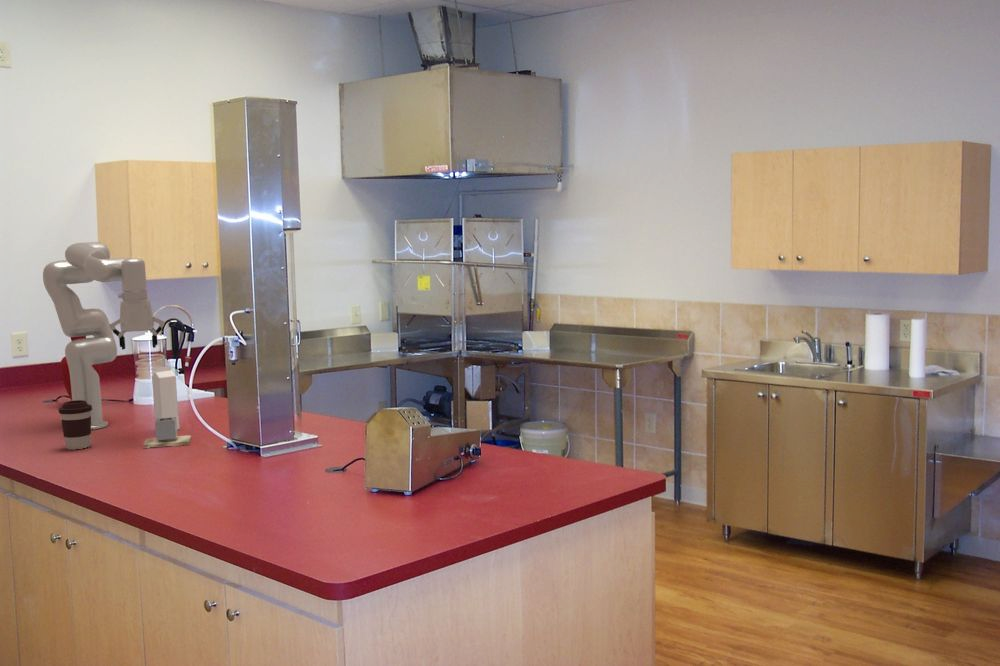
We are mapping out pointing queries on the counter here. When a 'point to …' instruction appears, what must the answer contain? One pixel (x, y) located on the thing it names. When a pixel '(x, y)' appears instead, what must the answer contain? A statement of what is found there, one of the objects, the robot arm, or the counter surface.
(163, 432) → the gray rounded cube
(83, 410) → the coffee cup
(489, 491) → the counter surface
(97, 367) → the vase
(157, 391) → the milk
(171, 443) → the shaft stand
